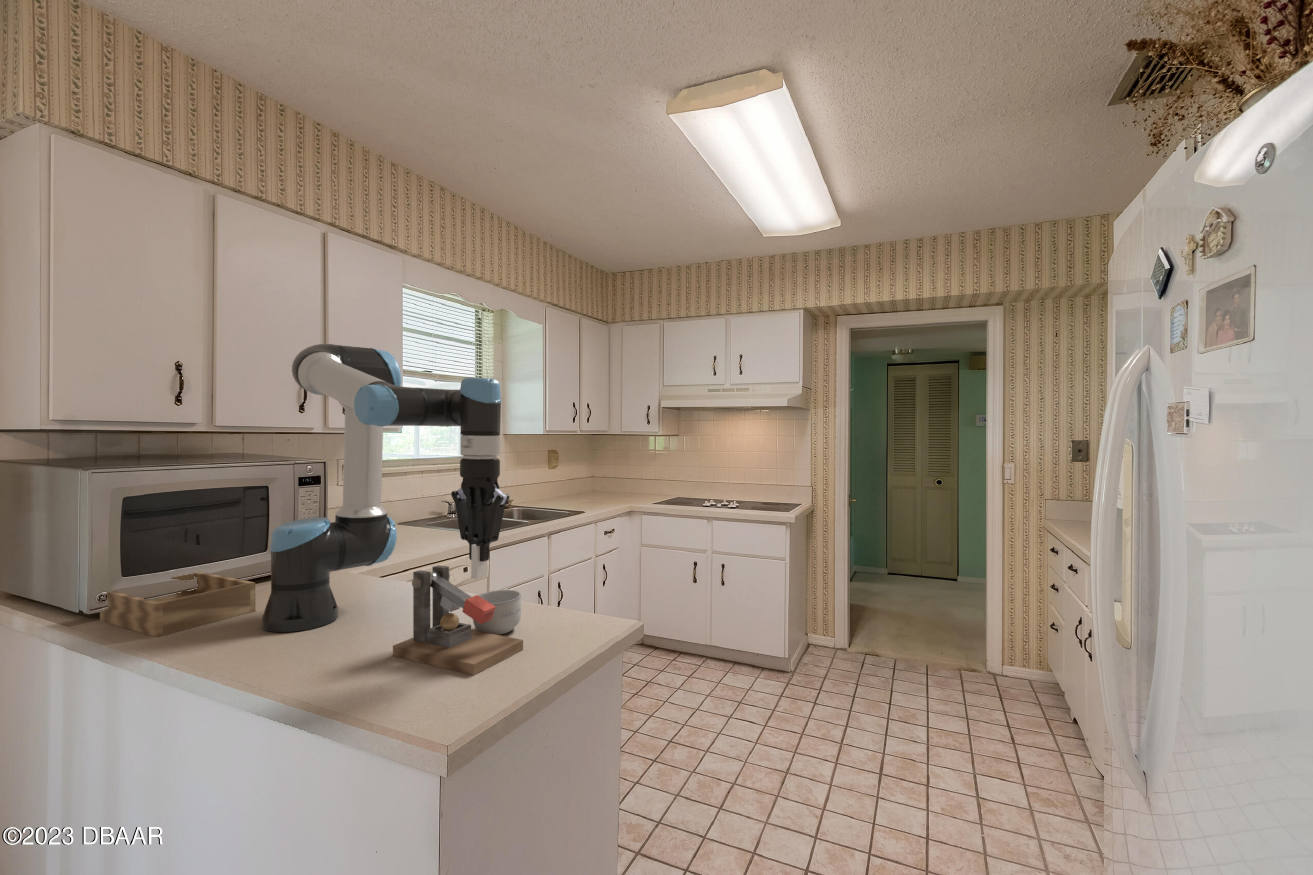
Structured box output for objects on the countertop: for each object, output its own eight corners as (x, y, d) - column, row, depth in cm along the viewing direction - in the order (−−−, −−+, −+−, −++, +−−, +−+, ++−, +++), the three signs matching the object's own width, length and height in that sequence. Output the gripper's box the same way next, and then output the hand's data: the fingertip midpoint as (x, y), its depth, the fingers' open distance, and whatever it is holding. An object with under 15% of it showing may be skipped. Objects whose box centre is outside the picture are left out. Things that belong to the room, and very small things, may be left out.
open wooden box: (100, 620, 138) (99, 590, 138) (199, 598, 156) (199, 571, 156) (156, 636, 127) (155, 604, 127) (255, 610, 145) (255, 582, 145)
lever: (417, 590, 122) (422, 570, 121) (429, 587, 125) (435, 567, 124) (477, 632, 115) (484, 611, 114) (489, 627, 118) (495, 606, 117)
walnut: (436, 632, 119) (436, 614, 119) (449, 626, 123) (449, 609, 123) (449, 634, 118) (449, 616, 118) (462, 629, 121) (462, 611, 121)
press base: (392, 655, 117) (392, 574, 117) (446, 633, 130) (446, 560, 130) (474, 675, 108) (474, 587, 108) (523, 649, 121) (523, 571, 121)
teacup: (508, 641, 126) (508, 603, 126) (461, 637, 128) (461, 600, 128) (534, 620, 139) (534, 586, 139) (491, 617, 142) (491, 583, 142)
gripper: (440, 456, 116) (439, 577, 116) (493, 459, 110) (491, 585, 111) (468, 455, 122) (467, 568, 123) (519, 457, 117) (517, 576, 117)
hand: (479, 576), depth 117 cm, fingers closed
